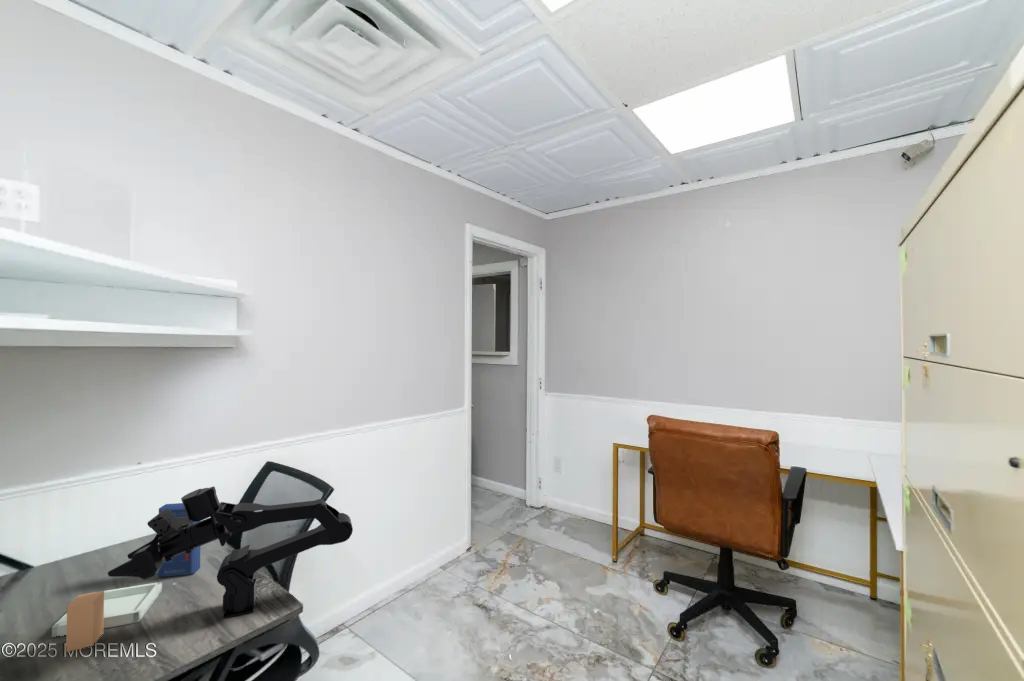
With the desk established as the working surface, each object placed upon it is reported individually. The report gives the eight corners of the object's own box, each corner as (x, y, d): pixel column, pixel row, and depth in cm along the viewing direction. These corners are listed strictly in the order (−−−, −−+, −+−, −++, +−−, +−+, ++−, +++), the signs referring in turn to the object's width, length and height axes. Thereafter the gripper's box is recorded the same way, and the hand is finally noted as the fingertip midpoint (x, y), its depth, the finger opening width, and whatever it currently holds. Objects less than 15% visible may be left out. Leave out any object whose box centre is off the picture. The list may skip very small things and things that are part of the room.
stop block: (103, 633, 99) (104, 590, 99) (92, 646, 95) (93, 601, 95) (78, 638, 98) (79, 594, 98) (66, 651, 93) (67, 606, 94)
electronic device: (155, 579, 122) (156, 509, 122) (166, 569, 127) (167, 503, 127) (192, 575, 124) (193, 507, 124) (201, 566, 129) (202, 500, 129)
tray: (161, 590, 116) (162, 581, 116) (138, 622, 103) (138, 611, 103) (86, 603, 111) (86, 593, 111) (51, 638, 98) (51, 627, 98)
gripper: (197, 494, 113) (126, 519, 108) (170, 517, 96) (84, 549, 90) (210, 532, 114) (141, 560, 108) (186, 563, 97) (101, 597, 91)
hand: (118, 565), depth 100 cm, fingers open, 9 cm apart
